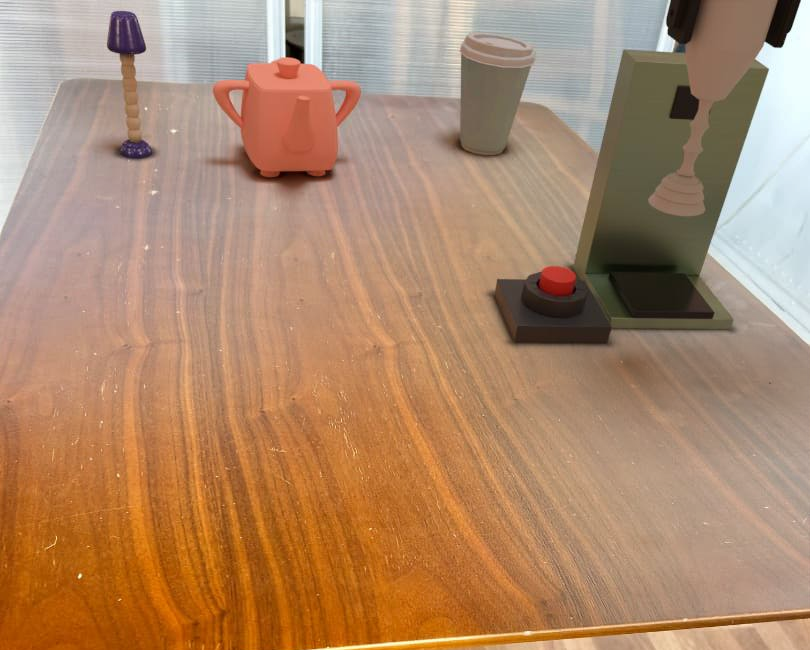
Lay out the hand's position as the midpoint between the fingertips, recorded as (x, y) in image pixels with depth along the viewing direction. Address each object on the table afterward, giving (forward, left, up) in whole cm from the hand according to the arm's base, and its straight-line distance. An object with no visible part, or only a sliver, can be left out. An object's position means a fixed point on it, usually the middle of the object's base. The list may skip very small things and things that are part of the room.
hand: (724, 39), depth 70 cm
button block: (+6, -8, -29) cm, 31 cm away
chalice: (0, 0, -13) cm, 13 cm away
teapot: (+32, -48, -30) cm, 65 cm away
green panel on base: (-7, -13, -29) cm, 33 cm away
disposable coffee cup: (+3, -58, -30) cm, 65 cm away
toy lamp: (+52, -51, -30) cm, 79 cm away
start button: (+6, -8, -26) cm, 28 cm away
